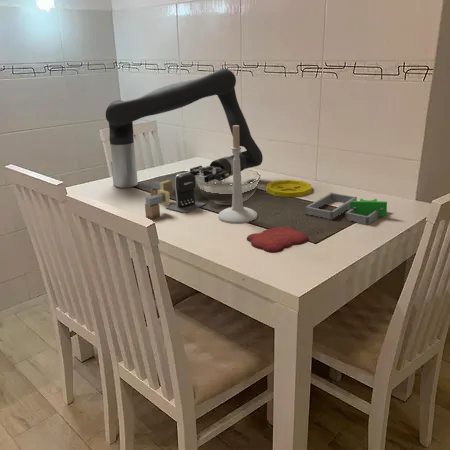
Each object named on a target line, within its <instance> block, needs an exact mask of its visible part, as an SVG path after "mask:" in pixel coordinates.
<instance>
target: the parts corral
mask: <svg viewBox="0 0 450 450" xmlns="http://www.w3.org/2000/svg"><path fill="white" fill-rule="evenodd" d="M332 201H333V202H334V201H335V202H339V203H342V204H341V205H339V206H338V207H336V208H334V209H333V210H326V209H320V208H322V207H323V206H324V205H326V204H328V203H330V202H332ZM350 201H358V197H356V196H352V195H346V194H341V193H335V192H329V193H328V194H326V195H324V196H323V197H320V198H319V199H316V200H315V201H314V202H312V203H310V204H308V205H306V206H305V207H304V215H306V214H308V215H307V216H310V215H314V216H313V217H315V216H319V217H318V218H320V217H323V218H322V219H325V218H328V219H327V220H329V219H333V218H334V219H336V218H337V217H339V216H340V215H342V214H343V213H344V221H346V220H349V221H348V222H351V221H354V222H353V223H355V222H357V223H356V224H361V225H366V226H369V225H370V224H371V223H372V222H373V223H374V221H375V220H377V219H378V218H379V217H380V216H378V210H375V211H374V212H372V213H371V214H369V215H368V216H364V215H359V214H354V210H355V209H356V207H354V208H353V209H350ZM319 207H320V208H319ZM346 210H347V211H346ZM380 210H383V208H380ZM344 211H345V212H344ZM341 213H342V214H341ZM338 215H339V216H338ZM336 216H337V217H336ZM335 217H336V218H335ZM334 219H333V220H334Z"/></svg>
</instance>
